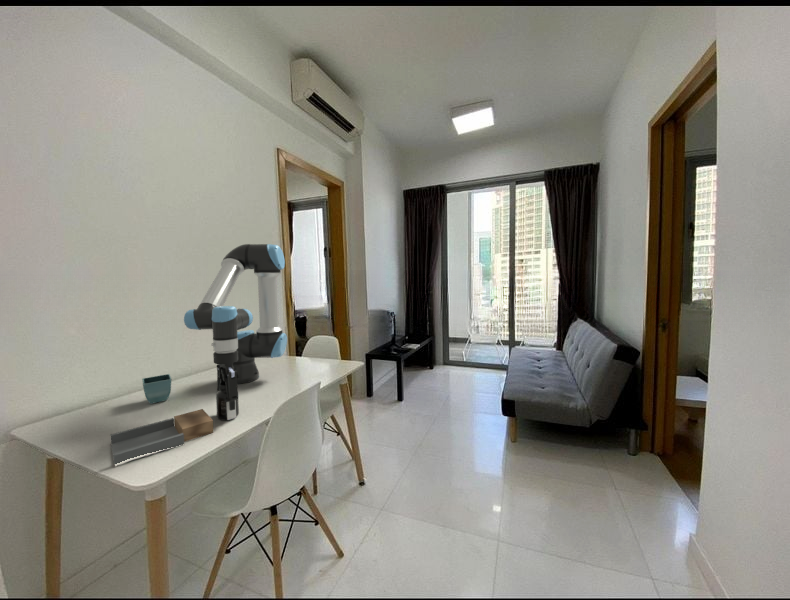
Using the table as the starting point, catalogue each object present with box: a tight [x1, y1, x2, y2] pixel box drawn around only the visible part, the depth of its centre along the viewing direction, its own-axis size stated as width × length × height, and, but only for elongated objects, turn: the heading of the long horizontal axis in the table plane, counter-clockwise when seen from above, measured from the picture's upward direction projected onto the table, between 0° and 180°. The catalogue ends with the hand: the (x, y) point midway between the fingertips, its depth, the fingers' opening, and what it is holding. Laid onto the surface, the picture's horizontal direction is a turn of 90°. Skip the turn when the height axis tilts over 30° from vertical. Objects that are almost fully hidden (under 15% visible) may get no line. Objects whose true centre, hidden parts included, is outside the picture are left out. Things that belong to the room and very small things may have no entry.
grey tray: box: [110, 417, 185, 465], centre depth 88 cm, size 15×15×3 cm
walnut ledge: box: [173, 408, 214, 443], centre depth 97 cm, size 8×12×4 cm, turn 46°
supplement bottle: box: [215, 382, 240, 421], centre depth 106 cm, size 7×7×12 cm
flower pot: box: [141, 373, 172, 405], centre depth 120 cm, size 9×9×9 cm
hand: (228, 414), depth 107 cm, fingers closed on supplement bottle, 7 cm apart
